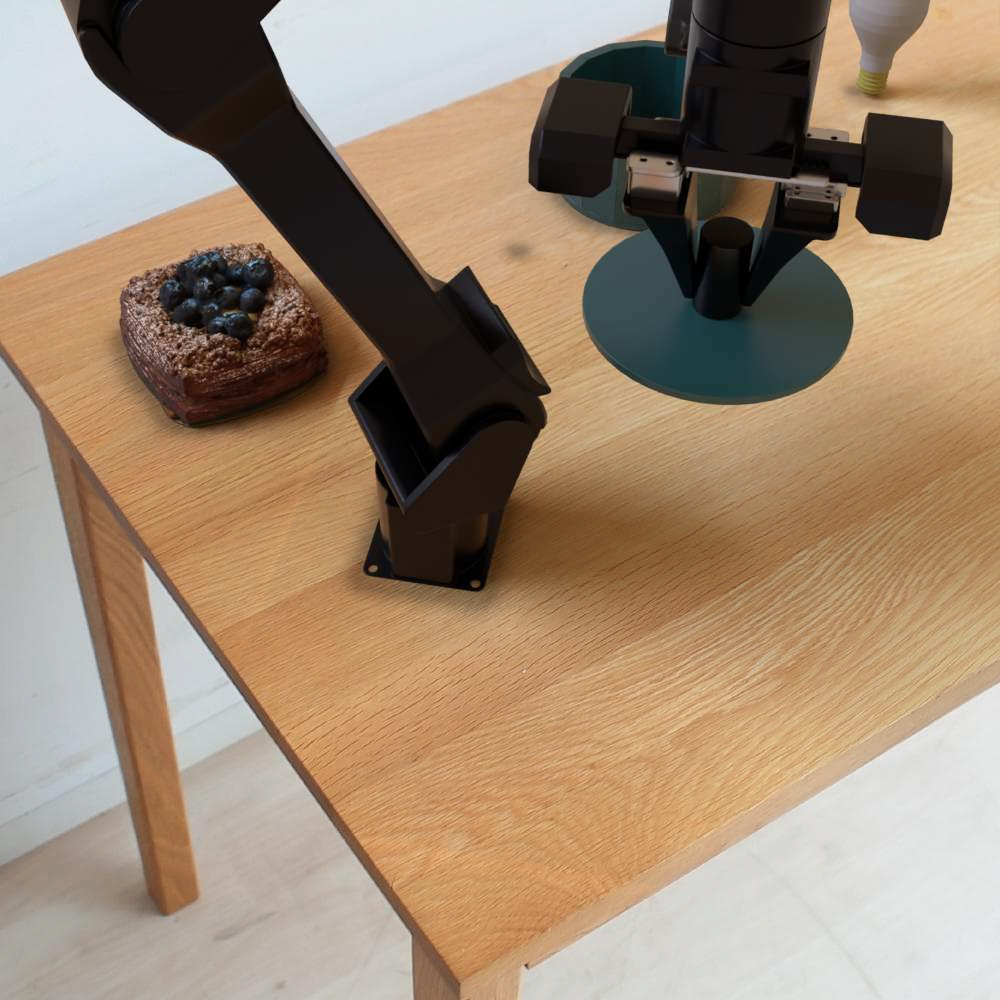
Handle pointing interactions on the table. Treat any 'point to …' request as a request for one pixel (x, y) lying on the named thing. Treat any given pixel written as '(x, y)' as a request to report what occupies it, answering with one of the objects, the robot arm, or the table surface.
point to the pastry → (222, 334)
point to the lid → (716, 319)
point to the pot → (652, 97)
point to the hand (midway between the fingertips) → (718, 297)
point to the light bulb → (883, 35)
